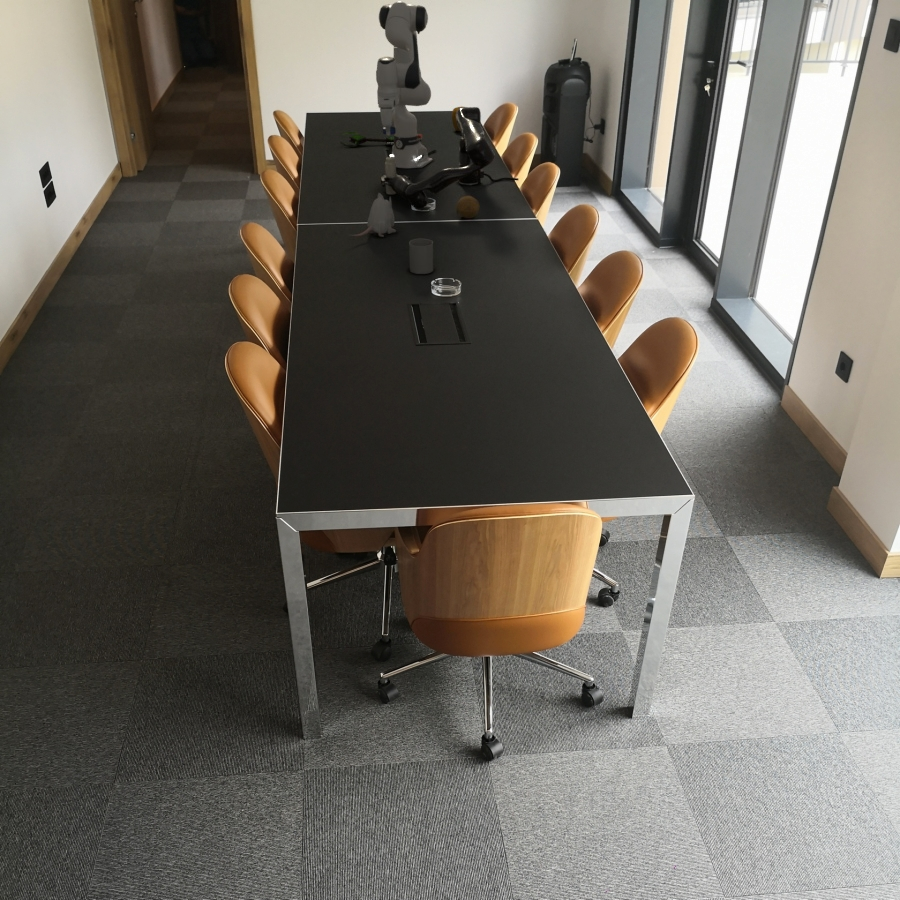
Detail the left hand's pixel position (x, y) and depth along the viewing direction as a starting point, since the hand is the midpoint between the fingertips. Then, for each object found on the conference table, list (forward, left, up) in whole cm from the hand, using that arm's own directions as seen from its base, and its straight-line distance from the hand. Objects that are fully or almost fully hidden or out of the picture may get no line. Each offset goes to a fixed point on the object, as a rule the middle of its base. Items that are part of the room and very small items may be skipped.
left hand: (389, 133), depth 374 cm
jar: (0, 0, -26) cm, 26 cm away
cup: (+72, +64, -26) cm, 100 cm away
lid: (0, 0, +2) cm, 2 cm away
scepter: (-66, -61, -26) cm, 94 cm away
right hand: (-2, -2, -19) cm, 19 cm away
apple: (-121, -36, -26) cm, 129 cm away
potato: (+12, +47, -26) cm, 55 cm away
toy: (+53, +28, -26) cm, 65 cm away
